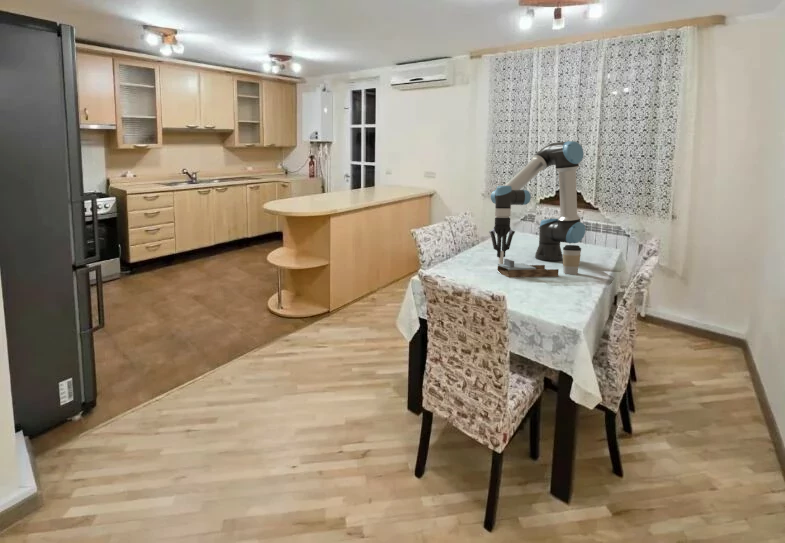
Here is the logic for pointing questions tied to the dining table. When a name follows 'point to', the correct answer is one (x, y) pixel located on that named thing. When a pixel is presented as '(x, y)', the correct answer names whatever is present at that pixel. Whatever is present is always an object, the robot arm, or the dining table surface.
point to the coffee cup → (571, 259)
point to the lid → (515, 265)
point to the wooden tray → (529, 272)
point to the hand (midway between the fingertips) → (500, 263)
